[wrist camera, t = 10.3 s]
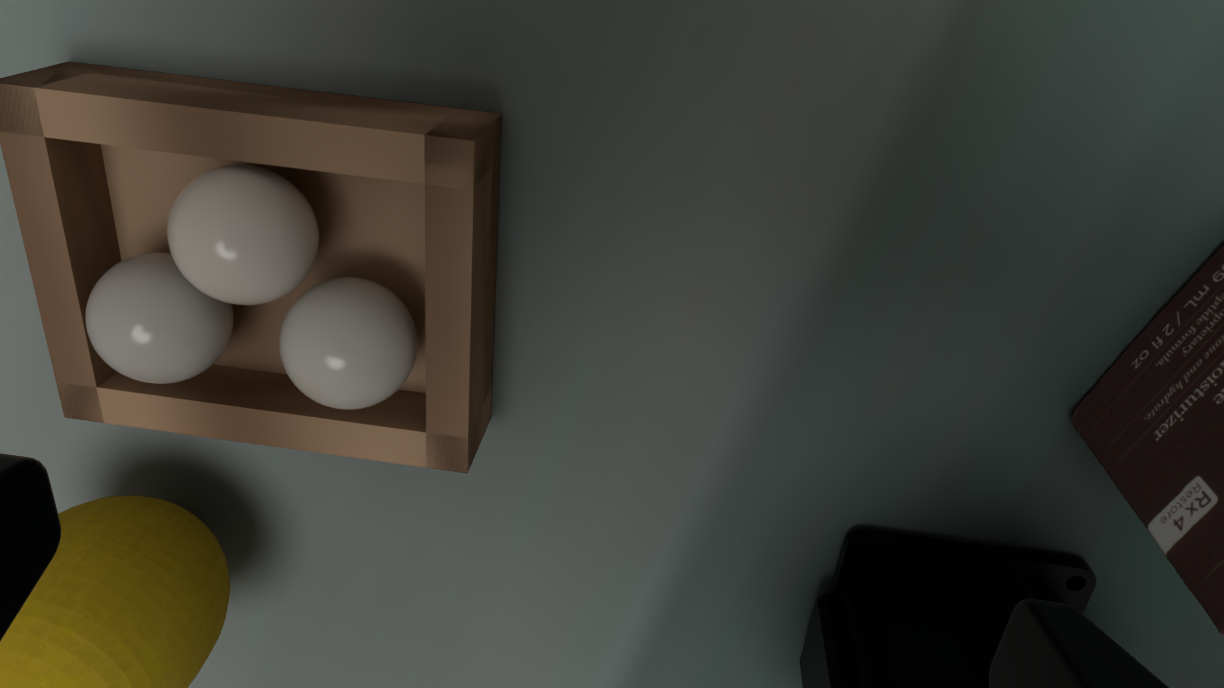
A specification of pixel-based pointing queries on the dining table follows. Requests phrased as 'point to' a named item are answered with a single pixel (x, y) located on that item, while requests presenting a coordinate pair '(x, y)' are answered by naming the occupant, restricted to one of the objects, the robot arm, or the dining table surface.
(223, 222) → the grey ball
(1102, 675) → the robot arm
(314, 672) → the dining table surface
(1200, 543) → the box
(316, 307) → the grey sphere
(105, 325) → the pebble
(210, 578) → the lemon
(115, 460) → the dining table surface
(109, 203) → the pebble tray
